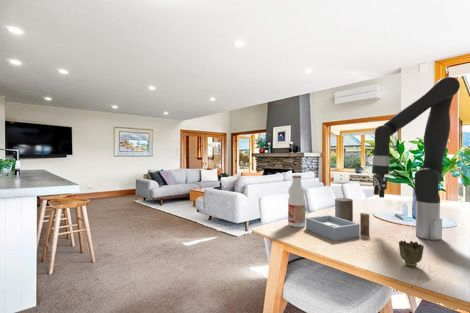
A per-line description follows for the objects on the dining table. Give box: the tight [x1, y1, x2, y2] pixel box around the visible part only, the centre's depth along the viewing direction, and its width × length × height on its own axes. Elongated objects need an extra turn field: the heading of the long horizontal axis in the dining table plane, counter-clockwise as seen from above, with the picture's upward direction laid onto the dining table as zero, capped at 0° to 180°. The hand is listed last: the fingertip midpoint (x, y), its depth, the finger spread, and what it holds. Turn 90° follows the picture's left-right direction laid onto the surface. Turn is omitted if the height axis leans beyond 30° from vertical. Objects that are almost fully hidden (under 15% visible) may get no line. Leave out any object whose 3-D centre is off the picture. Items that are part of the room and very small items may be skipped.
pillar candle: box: [334, 197, 354, 222], centre depth 150 cm, size 10×10×15 cm
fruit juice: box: [287, 174, 306, 228], centre depth 144 cm, size 9×9×28 cm
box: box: [305, 214, 361, 242], centre depth 131 cm, size 20×16×6 cm
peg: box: [359, 212, 370, 236], centre depth 129 cm, size 4×4×10 cm
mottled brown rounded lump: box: [398, 239, 425, 268], centre depth 92 cm, size 8×7×8 cm
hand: (378, 195), depth 133 cm, fingers open, 8 cm apart
